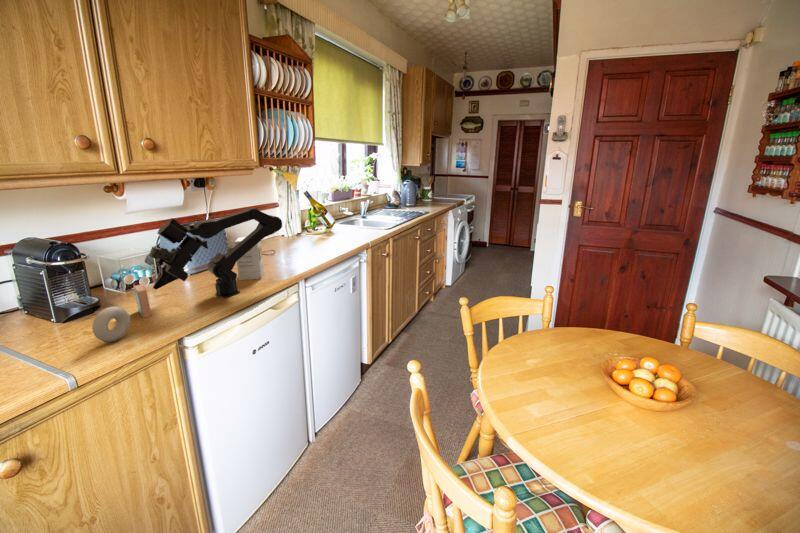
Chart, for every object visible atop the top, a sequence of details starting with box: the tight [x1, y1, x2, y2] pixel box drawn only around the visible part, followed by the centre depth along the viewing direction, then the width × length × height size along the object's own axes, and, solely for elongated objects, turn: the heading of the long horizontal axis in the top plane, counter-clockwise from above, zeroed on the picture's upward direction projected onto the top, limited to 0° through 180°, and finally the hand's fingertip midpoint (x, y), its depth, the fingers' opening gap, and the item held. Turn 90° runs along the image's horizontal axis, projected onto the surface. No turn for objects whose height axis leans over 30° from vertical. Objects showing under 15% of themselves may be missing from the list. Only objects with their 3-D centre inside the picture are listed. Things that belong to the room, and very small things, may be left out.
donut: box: [92, 306, 131, 343], centre depth 105 cm, size 10×3×10 cm, turn 166°
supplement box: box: [233, 236, 265, 281], centre depth 161 cm, size 10×9×17 cm
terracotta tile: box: [132, 284, 153, 319], centre depth 124 cm, size 2×8×9 cm, turn 43°
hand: (154, 288), depth 126 cm, fingers closed
